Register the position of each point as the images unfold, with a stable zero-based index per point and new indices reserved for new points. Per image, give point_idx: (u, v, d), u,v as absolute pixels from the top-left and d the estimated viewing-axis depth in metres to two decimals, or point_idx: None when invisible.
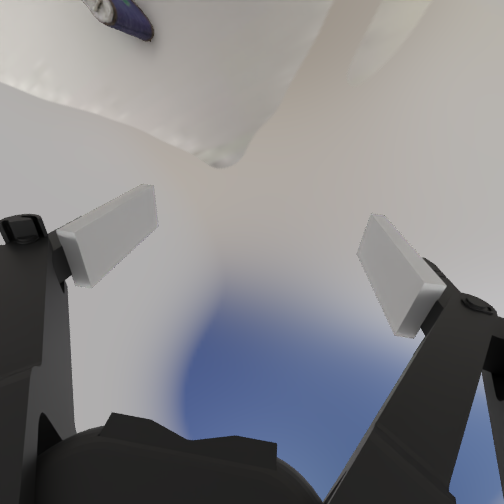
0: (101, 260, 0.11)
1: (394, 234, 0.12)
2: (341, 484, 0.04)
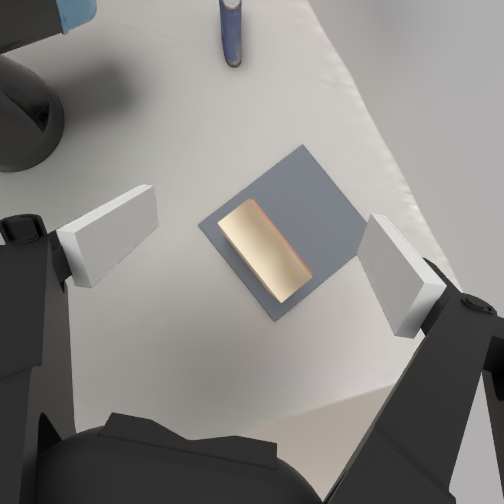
0: (101, 260, 0.11)
1: (394, 234, 0.12)
2: (341, 484, 0.04)
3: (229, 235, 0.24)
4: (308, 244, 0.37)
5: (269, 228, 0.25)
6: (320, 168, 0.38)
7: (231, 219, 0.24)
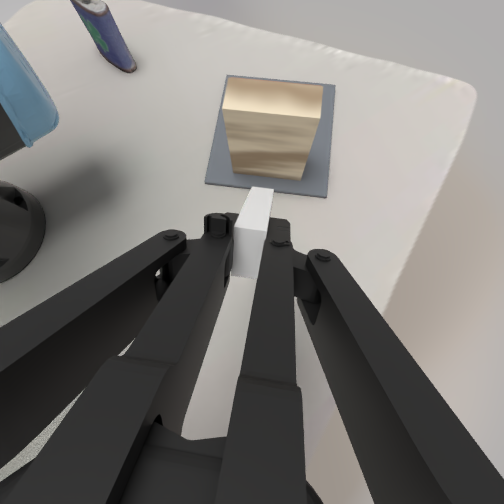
0: None
1: (265, 201, 0.14)
2: (226, 445, 0.04)
3: (238, 108, 0.25)
4: None
5: (261, 83, 0.26)
6: (253, 78, 0.41)
7: (229, 98, 0.26)
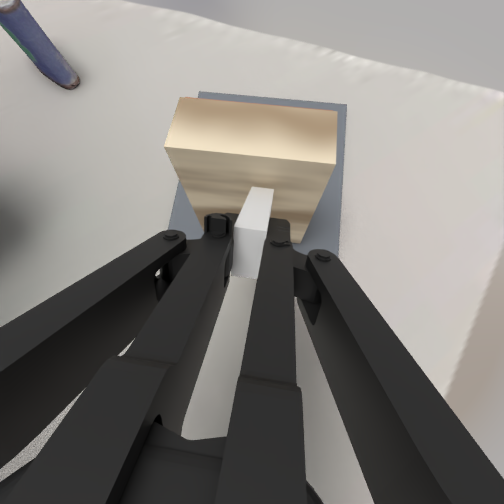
0: None
1: (265, 201, 0.14)
2: (226, 445, 0.04)
3: (193, 147, 0.15)
4: None
5: (234, 105, 0.16)
6: (235, 96, 0.30)
7: (178, 130, 0.15)
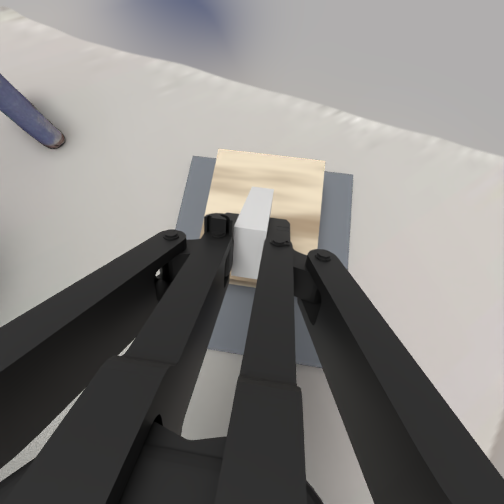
0: None
1: (265, 201, 0.14)
2: (226, 445, 0.04)
3: None
4: None
5: None
6: None
7: None
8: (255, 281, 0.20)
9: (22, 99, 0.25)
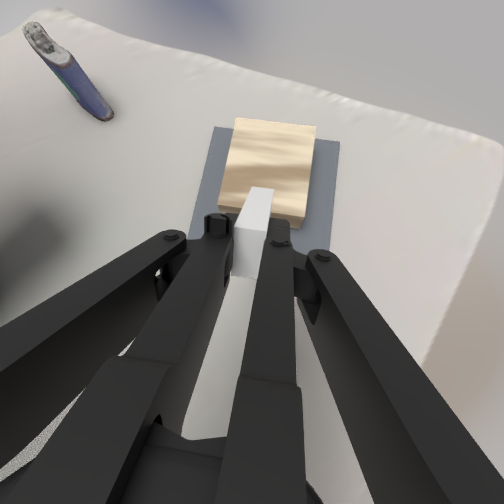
0: None
1: (265, 201, 0.14)
2: (226, 445, 0.04)
3: None
4: None
5: None
6: None
7: None
8: None
9: (88, 80, 0.33)
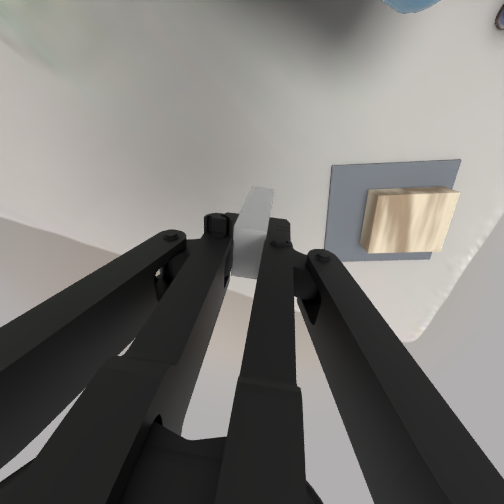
0: None
1: (265, 201, 0.14)
2: (226, 445, 0.04)
3: (455, 203, 0.38)
4: None
5: None
6: None
7: None
8: (373, 227, 0.41)
9: None
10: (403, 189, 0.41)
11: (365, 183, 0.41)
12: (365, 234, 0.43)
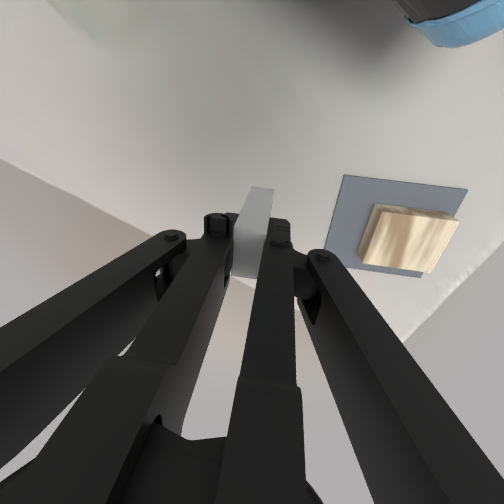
0: None
1: (265, 201, 0.14)
2: (226, 445, 0.04)
3: (453, 230, 0.40)
4: None
5: None
6: (452, 215, 0.43)
7: None
8: (371, 240, 0.43)
9: None
10: (407, 209, 0.42)
11: (372, 197, 0.43)
12: (363, 245, 0.46)
